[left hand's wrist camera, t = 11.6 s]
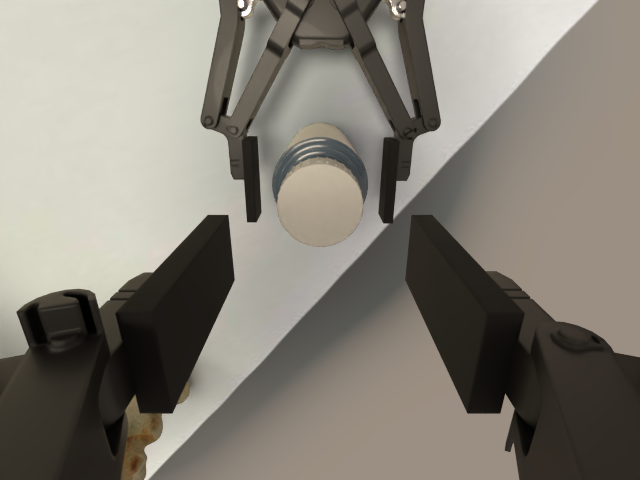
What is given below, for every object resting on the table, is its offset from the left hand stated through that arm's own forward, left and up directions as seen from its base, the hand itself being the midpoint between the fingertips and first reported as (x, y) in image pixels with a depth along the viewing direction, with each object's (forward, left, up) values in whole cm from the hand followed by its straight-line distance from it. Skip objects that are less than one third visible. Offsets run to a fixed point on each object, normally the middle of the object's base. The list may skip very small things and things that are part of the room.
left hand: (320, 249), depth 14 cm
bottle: (0, 0, -23) cm, 23 cm away
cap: (0, 0, -6) cm, 6 cm away
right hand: (-3, -3, -17) cm, 17 cm away
